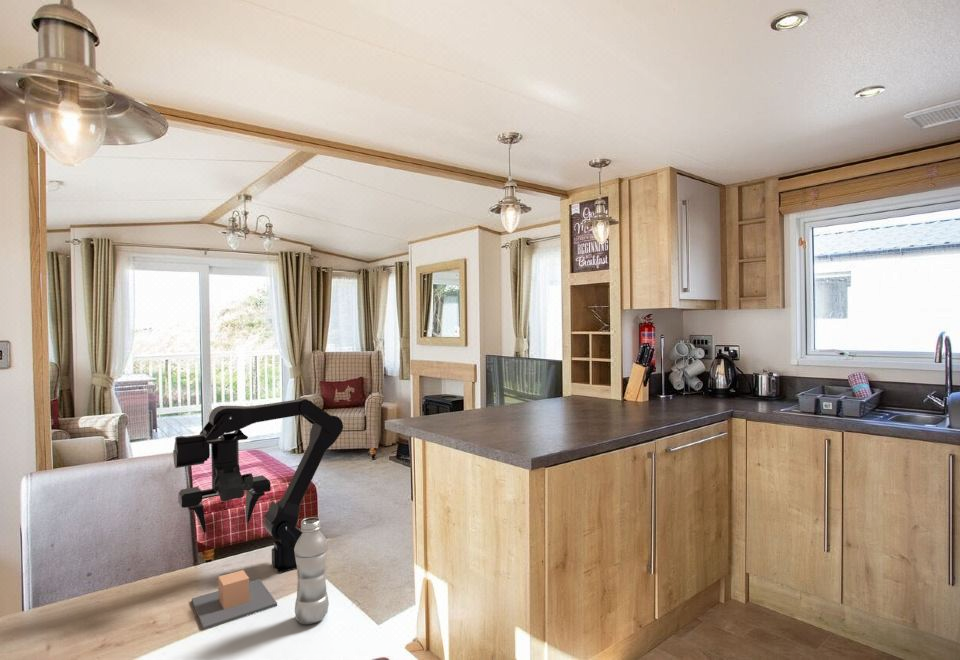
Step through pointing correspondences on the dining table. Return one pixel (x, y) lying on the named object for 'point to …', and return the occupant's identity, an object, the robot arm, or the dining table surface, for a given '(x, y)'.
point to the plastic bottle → (311, 573)
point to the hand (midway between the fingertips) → (226, 527)
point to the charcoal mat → (215, 615)
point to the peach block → (233, 589)
